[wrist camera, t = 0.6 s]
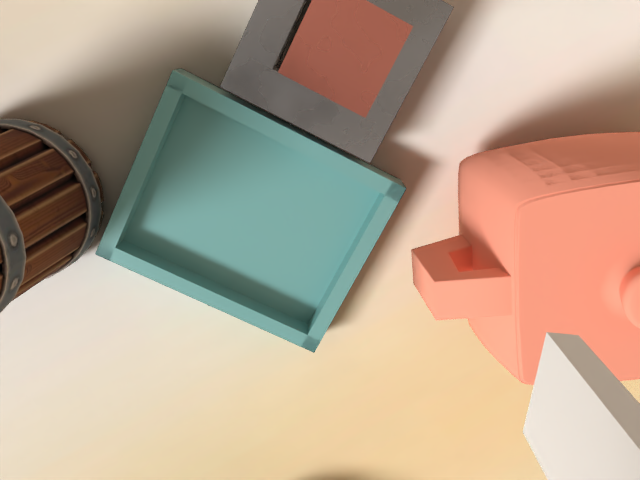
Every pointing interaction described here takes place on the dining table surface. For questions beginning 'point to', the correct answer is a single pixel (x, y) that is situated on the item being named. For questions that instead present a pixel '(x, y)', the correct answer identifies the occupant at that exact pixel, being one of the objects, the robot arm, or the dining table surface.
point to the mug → (42, 205)
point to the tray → (247, 212)
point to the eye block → (312, 108)
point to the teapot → (544, 251)
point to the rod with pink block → (345, 51)
